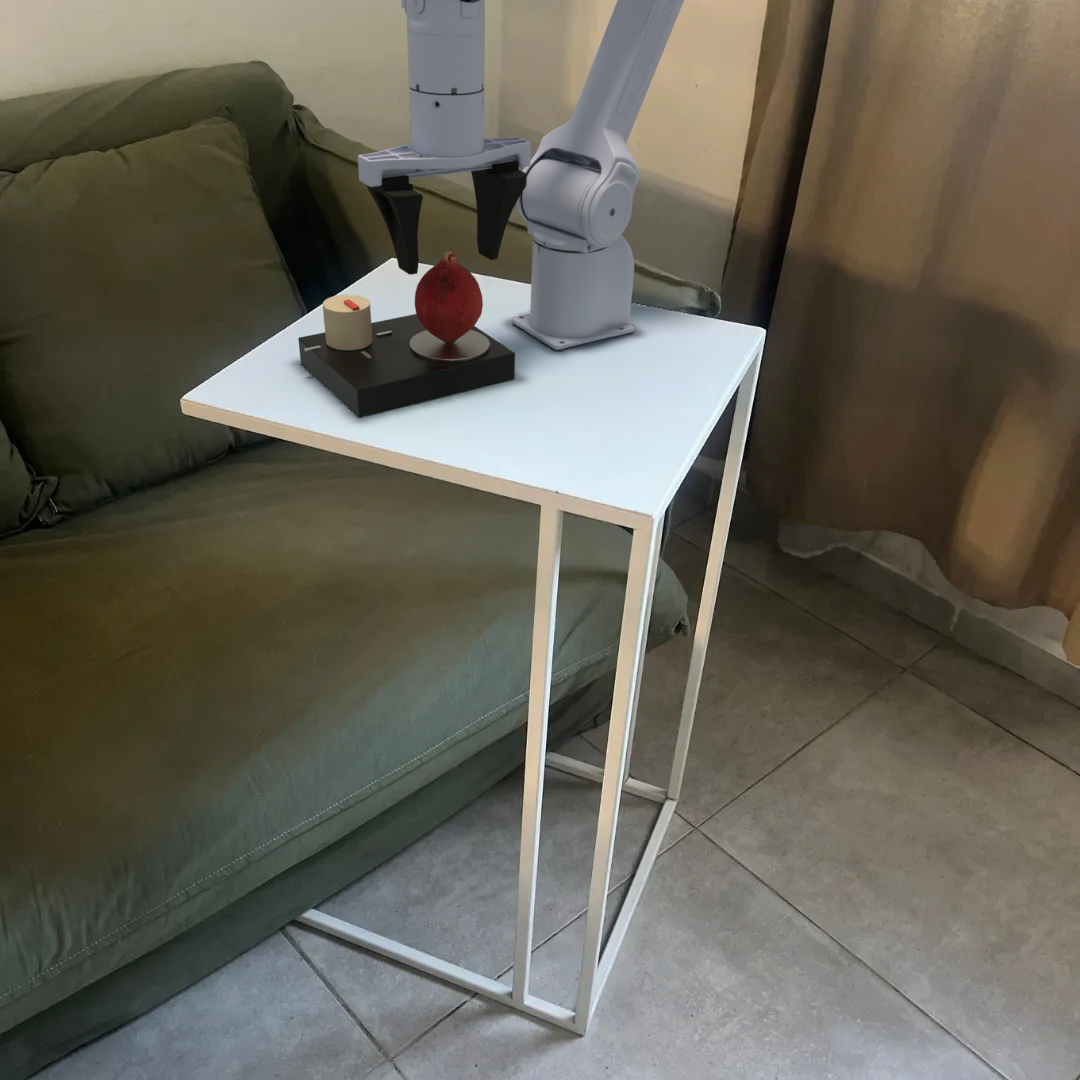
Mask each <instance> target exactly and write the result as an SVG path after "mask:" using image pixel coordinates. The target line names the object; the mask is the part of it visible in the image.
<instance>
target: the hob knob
mask: <svg viewBox="0 0 1080 1080" xmlns="http://www.w3.org/2000/svg"><path fill="white" fill-rule="evenodd" d="M322 312H323V324H324V332H325V337H326V343H327V345H328V346H329V347H331V348H334V349H338V350H358V349H362V348H365V347H367V346H369V345H370V344H371V343H372V326H371V323H372V312H371V302H370V300H369V298H367V297H365V296H361V295H357V294H340V295H334V296H330V297H327V298H326V299H325V300H324V301H323V302H322Z"/></svg>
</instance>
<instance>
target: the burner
mask: <svg viewBox="0 0 1080 1080" xmlns="http://www.w3.org/2000/svg"><path fill="white" fill-rule="evenodd" d="M410 349H411V351H412V352H413V353H414V354H415V355H417V356H419V357H421V358H424V359H427V360H431V361H436V362H446V363H455V362H465V361H470V360H474V359H477V358H479V357H481V356H483V355H485V354H486V353H487V352H488V351H489V349H490V342H489V340H488V338H487V337H485V336H484V335H482V334H481V333H478V332H476V331H473V330H470V331H468V332H467V333H466V334H464V335H463V336H462V337H460V338H459V339H457V340H456V341H455V342H453V343H445V342H444V341H442V340H440V339H438V338H437V337H435V336H433V335H432V334H431V333H430V332H429V331H427V330H426V331H423V332H420V333H418V334H416V335H415V336H413V337H412V338H411V340H410Z"/></svg>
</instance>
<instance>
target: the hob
mask: <svg viewBox="0 0 1080 1080" xmlns="http://www.w3.org/2000/svg"><path fill="white" fill-rule="evenodd" d="M371 326H372V343H371V344H370V345H369V346H367V347H365V348H362V349H358V350H338V349H334V348H331V347H329V346H328V345H327V343H326V337H325V331H324V332H321V333H314V334H310V335H305V336H300V337H297V338H298V348H299V357H300V365H301V366H303V367H304V368H305V369H306V370H307V371H308V372H309V373H310V374H311V375H312V376H313V377H315V378H316V379H317V380H318V381H319V382H320V383H321V384H322V385H323V386H324V387H326V389H327V390H329V392H331V393H332V394H333V395H334V396H335V397H336V398H337V399H338V400H339V401H340V402H341V403H342V404H344V405H345V406H346V407H347V408H348V409H349V410H350V411H351V412H352V413H353V414H355V415H356V416H357V417H358V418H364V417H368V416H373V415H376V414H379V413H385V412H389V411H393V410H396V409H400V408H404V407H409V406H412V405H417V404H421V403H423V402H429V401H431V400H436V399H440V398H444V397H448V396H452V395H455V394H456V395H457V394H460V393H465V392H468V391H473V390H476V389H480V388H484V387H488V386H491V385H495V384H500V383H504V382H509V381H512V380H515V375H516V374H515V373H516V372H515V371H516V370H515V369H516V352H515V351H512V350H511V349H510V348H508V347H507V346H505V345H504V344H502V343H501V342H499V341H498V340H497V339H495V338H493V337H492V336H491V335H489V334H487V333H486V332H485V331H483V330H482V329H480V328H478V327H477V326H476V325H475V326H474V327H473V328H472V329H471V330H473V331H476V332H478V333H481V334H482V335H484V336H485V337H487V338H488V340H489V342H490V349H489V351H488V352H487V353H486V354H485V355H483V356H481V357H479V358H477V359H474V360H470V361H465V362H455V363H446V362H436V361H431V360H427V359H424V358H421V357H419V356H417V355H415V354H414V353H413V352H412V351H411V349H410V340H411V338H412V337H413V336H415V335H416V334H418V333H420V332H423V331H426V330H427V329H426V328H425V327H424V326H423V325H422V324H421V323H420V321H419V319H418V317H417V315H416V313H413V314H408V315H404V316H399V317H393V318H388V319H384V320H379V321H374V322H371Z"/></svg>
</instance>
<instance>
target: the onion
mask: <svg viewBox="0 0 1080 1080" xmlns="http://www.w3.org/2000/svg"><path fill="white" fill-rule="evenodd" d="M457 259H458V254H456V253H455V252H454V251H452V250H449V251H446V252H444V253H443V255H442V256H441V258H440V260H439V262H438V263H437V264H435V265H433V266H432V267H431V268H430V269H428V270H427V271H426V272H425V273H424V274H423V276H421V278H420V280H419V281H418V283H417V286H416V289H415V293H414V310H415V314H416V315H417V317H418V319H419V321H420V323H421V324H422V325H423V326H424V327H425V328H426V329H427V331H429V332H430V333H431V334H432V335H433V336H435V337H437V338H438V339H440V340H442V341H444V342H445V343H453V342H455V341H456V340H457V339H459V338H460V337H462V336H463V335H464V334H466V333H467V332H468V331H470V330H471V329H472V328H473V327H474V326H475V327H476V324H477V322H479V320H480V318H481V316H482V314H483V306H484V303H483V301H484V300H483V294H482V291H481V288H480V284H479V282H478V281H477V279H476V277H475V276H474V275H473V274H472V273H471V272H470V271H469V270H468V269H467V268H466V267H464V266H463V265H461V264H460V263H458V261H457Z"/></svg>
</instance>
